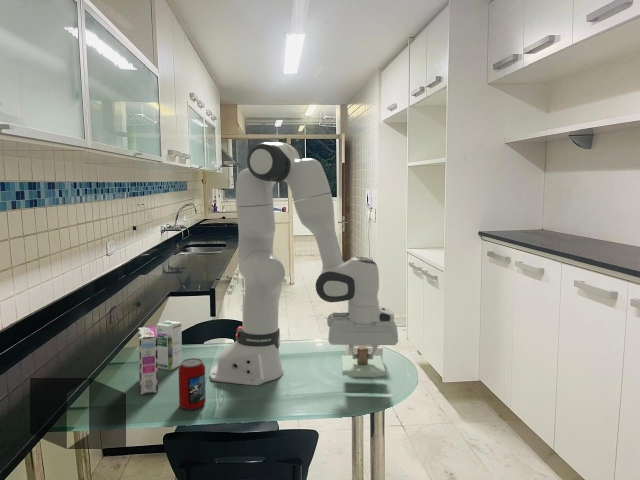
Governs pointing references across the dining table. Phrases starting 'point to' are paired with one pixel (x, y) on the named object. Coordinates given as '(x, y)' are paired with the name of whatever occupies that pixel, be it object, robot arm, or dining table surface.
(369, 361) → the lid
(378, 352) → the tub
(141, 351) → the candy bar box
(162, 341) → the syrup box
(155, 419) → the dining table surface
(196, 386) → the beverage can
